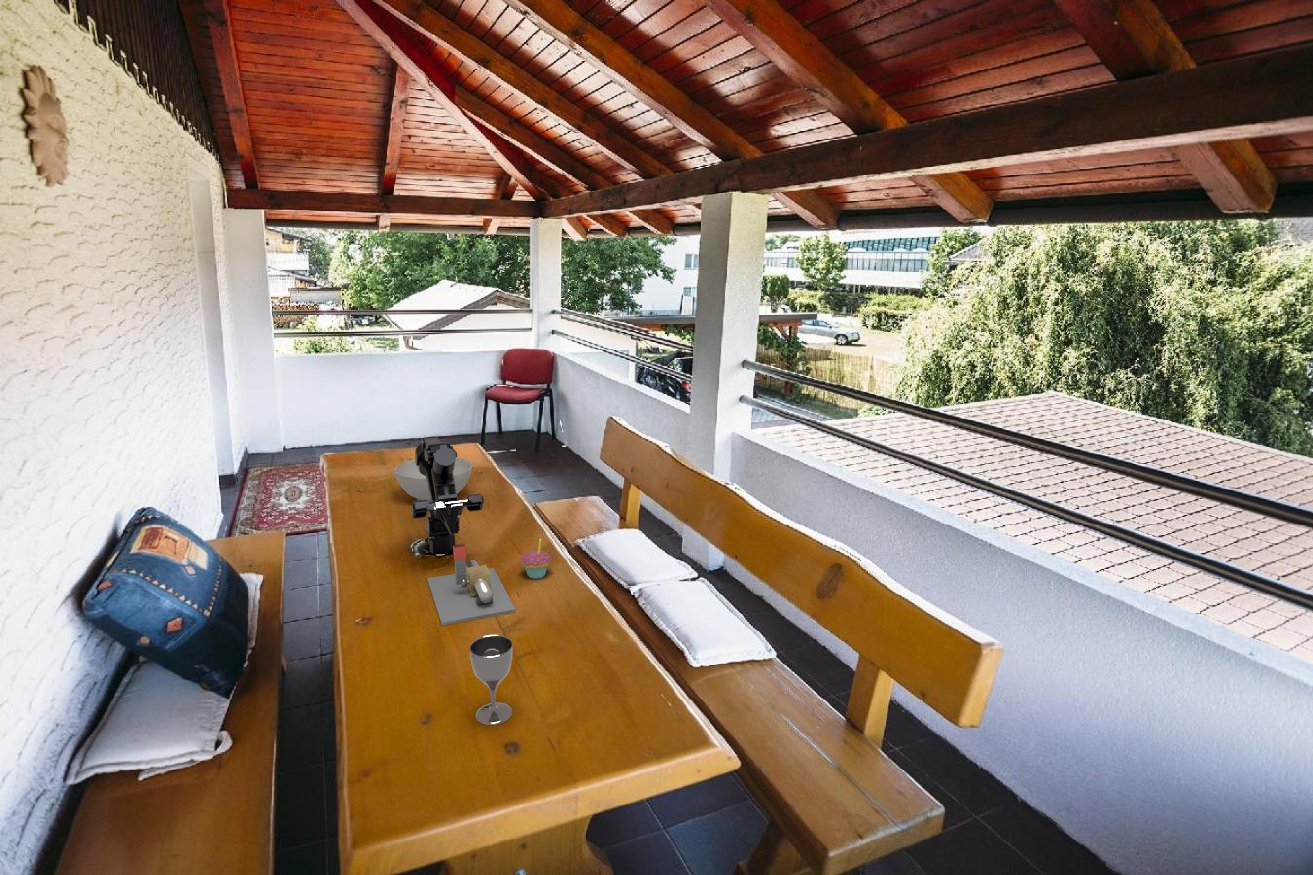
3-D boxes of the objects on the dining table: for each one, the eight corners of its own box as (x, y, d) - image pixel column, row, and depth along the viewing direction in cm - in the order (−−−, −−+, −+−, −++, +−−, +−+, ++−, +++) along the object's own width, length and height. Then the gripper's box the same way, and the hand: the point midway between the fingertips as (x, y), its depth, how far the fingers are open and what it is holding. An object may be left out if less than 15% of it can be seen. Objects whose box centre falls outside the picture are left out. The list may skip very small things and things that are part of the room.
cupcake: (557, 572, 204) (556, 532, 201) (540, 584, 197) (539, 543, 194) (531, 566, 208) (530, 527, 205) (514, 578, 200) (512, 537, 197)
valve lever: (455, 586, 188) (452, 544, 185) (466, 584, 190) (464, 543, 187) (456, 590, 186) (454, 548, 183) (467, 588, 187) (465, 546, 184)
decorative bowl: (489, 496, 265) (488, 464, 262) (431, 517, 243) (429, 483, 240) (439, 482, 278) (437, 452, 275) (380, 501, 256) (377, 469, 253)
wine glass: (476, 701, 146) (473, 635, 142) (516, 700, 146) (514, 634, 143) (470, 727, 138) (466, 657, 134) (512, 725, 139) (509, 656, 135)
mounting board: (427, 580, 197) (427, 578, 197) (493, 570, 204) (493, 567, 204) (441, 625, 174) (441, 622, 174) (515, 611, 182) (515, 609, 181)
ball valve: (460, 577, 198) (459, 557, 196) (481, 574, 200) (480, 554, 199) (475, 610, 180) (473, 588, 179) (497, 606, 182) (496, 584, 181)
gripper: (474, 492, 212) (483, 541, 205) (408, 499, 204) (415, 550, 197) (479, 474, 203) (488, 524, 196) (409, 481, 195) (416, 534, 188)
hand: (452, 534), depth 194 cm, fingers closed
